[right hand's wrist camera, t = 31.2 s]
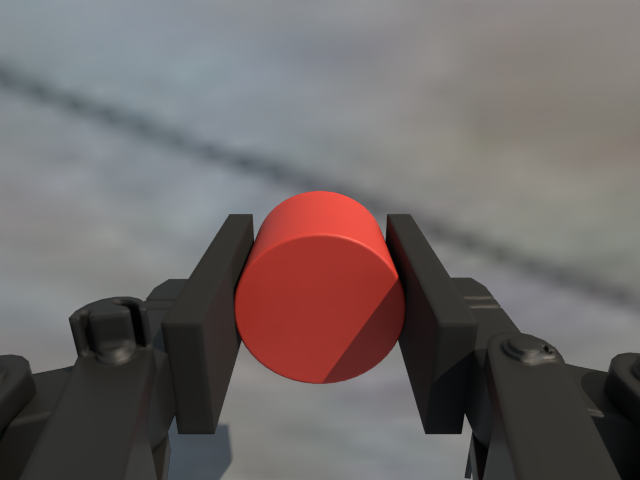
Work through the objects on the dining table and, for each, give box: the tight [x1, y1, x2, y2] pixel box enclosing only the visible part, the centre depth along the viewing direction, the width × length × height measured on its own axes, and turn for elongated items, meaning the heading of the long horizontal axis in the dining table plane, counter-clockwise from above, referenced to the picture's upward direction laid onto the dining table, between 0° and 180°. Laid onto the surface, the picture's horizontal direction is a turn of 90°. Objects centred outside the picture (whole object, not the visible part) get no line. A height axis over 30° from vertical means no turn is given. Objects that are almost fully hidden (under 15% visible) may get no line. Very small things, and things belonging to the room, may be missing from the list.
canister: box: [234, 191, 406, 384], centre depth 13 cm, size 4×4×4 cm
